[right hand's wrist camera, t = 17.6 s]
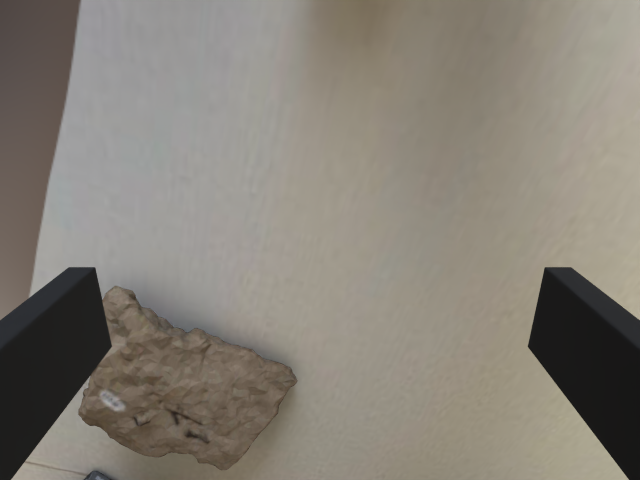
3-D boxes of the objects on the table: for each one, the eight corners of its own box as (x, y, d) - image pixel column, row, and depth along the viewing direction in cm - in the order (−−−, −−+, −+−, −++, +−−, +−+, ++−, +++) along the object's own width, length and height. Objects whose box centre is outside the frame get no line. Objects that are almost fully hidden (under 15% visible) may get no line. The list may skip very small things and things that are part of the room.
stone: (49, 397, 44) (27, 437, 38) (115, 274, 42) (102, 297, 37) (233, 452, 51) (237, 492, 45) (294, 349, 50) (306, 377, 44)
